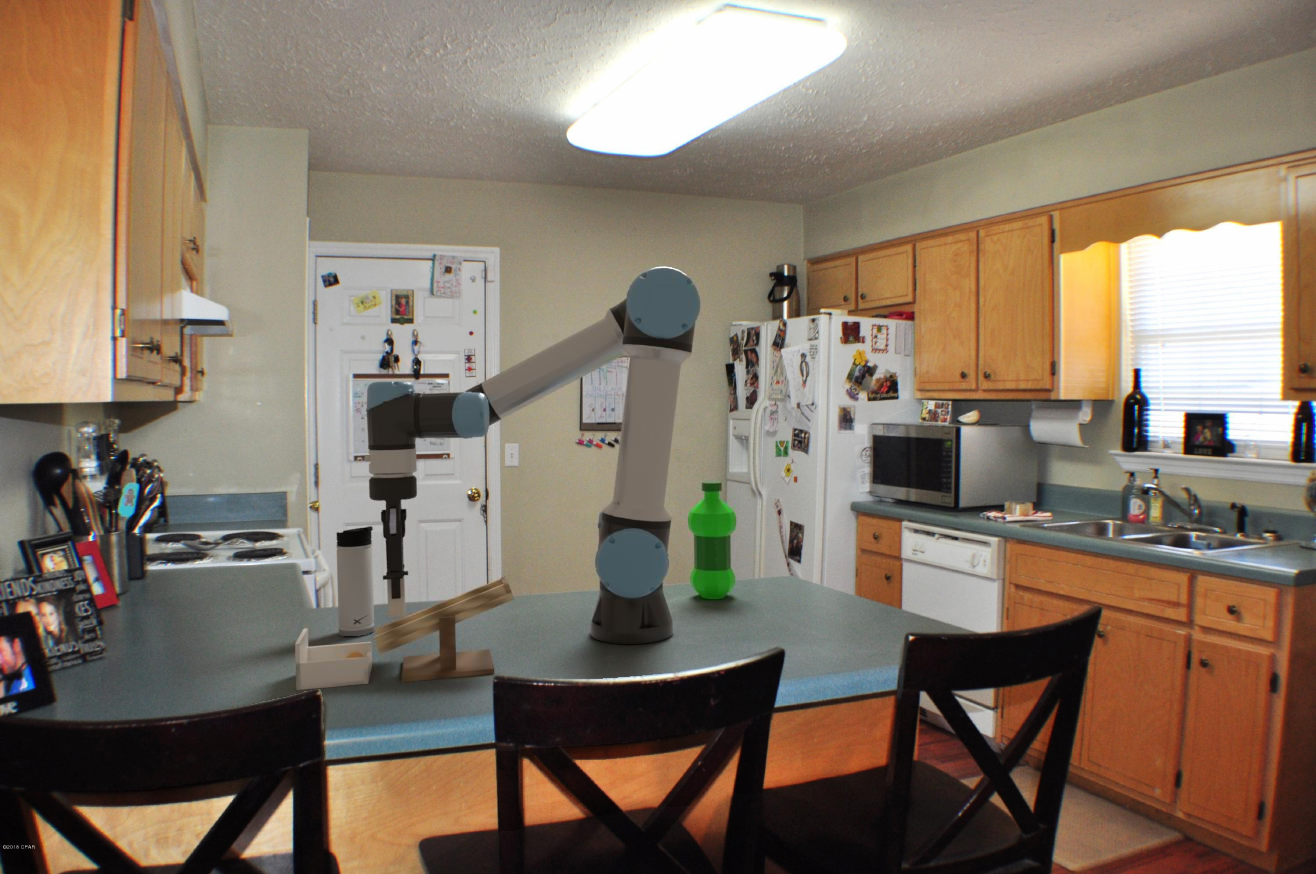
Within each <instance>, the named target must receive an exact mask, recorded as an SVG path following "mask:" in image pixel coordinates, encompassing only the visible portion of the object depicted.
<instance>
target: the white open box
mask: <svg viewBox="0 0 1316 874" xmlns="http://www.w3.org/2000/svg"><path fill="white" fill-rule="evenodd" d="M294 646H295V647H294V648H295V649H294V650H295V651H294V653H295V656H294V657H295V679H296V680H295V681H296V682H295V683H296V684H295V685H296V686H295V687H296V688H295V689H296V691H305V690H313V689H323V688H324V689H325V688H334V687H345V686H355V685H356V686H357V685H366V684H367V685H368V684H369V682H370V681H369V680H370V677H371V672H372V667H373V665H372V664H373V660H372V659H373V657H372V656H373V655H372V654H373V652H372V647H373V646H372V641H364V642H363V641H362V642H353V643H352V642H351V643H349V642H348V643H338V644H326V645H313V646H311V645H310V646H309V628H308V627H307V628H303V630H302V631H301V633H300V635H299V636H298V638H297V639H296V641H295V643H294ZM352 652H359V653H361V654H362V655H363V656H364V657H357V658H346V656H347V655H348V654H350V653H352Z"/></svg>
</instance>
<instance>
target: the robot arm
mask: <svg viewBox="0 0 1316 874" xmlns="http://www.w3.org/2000/svg"><path fill="white" fill-rule="evenodd" d="M700 311H701V298H700V294H699V291H698V288H697V286H696V284H695V283H694V281H693V280H692V279H691V278H690V277H689V276H688V275H687V274H686V273H684V272H683V271H682V270H679V269H676V268H673V267H669V266H657V267H656V266H655V267H653V268H650V269H647V270H645V271H643V272H642V273H641V274H639V275H638V276H637V277H636V278H635V279H634V280H633V281H632V282H631V284H630V286H629V289H628V290H627V293H626V297H625V299H623V300H622V301H621V302H620V303H617V304H616V305H615V306H613V307H611V308H608V309H607V310H606V313H605V316H604V317H603V318H602V319H600V320H598V321H596V322H594V323H592V324H591V325H588V326H586V327H584V328H583V329H581V330H579V331H577V332H576V333H573V334H571V335H570V336H568V337H566V338H563V339H562V340H560V341H558V342H557V343H555V344H552V345H550V346H549V347H547V348H545V349H543V350H541V351H539V352H538V353H536V354H533V355H531V356H530V357H528V358H525V359H524V360H521V361H520V362H518V363H516V364H514V365H512V366H511V367H509V368H507V369H505V370H502V371H501V372H499V373H497V374H495V375H494V376H492V377H489V378H488V379H486V380H484V381H482V382H481V383H478V384H475V386H473V387H470V388H469V389H468V388H467V390H465V391H461V392H459V391H458V392H433V393H432V392H431V393H424V392H421V393H420V392H416V390H415V386H414V385H415V384H414V383H413V382H411V381H404V380H403V381H400V380H399V381H374V382H371V383H370V384H368V386H367V388H366V389H367V391H366V408H365V412H366V425H367V427H366V428H367V443H368V444H367V448H368V455H365V456H364V459H363V460H364V461H365V462H370V463H368V473H369V474H370V475H372V476H371V477H370V478H369V479H368V487H369V488H368V491H369V492H368V494H369V499H370V500H372V501H376V502H379V501H380V502H383V501H384V502H385V509H382V510H381V512H380V520H381V523H382V536H383V539H385V553H386V555H385V556H386V573H385V575H382V580H383V581H385V580H386V583H387V584H386V587H387V588H386V590H387V591H386V592H387V593H386V594H387V618H388V619H396V618H397V619H398V618H400V619H402V618H404V617H407V616H406V587H405V576H409V570H405V567H406V566H405V564H404V537H405V536H406V521H407V508H403V507H402V500H406V501H407V500H411V499H415V498H416V497H417V495H418V487H417V486H418V485H417V479H418V478H417V477H416V475H414V473H416V472H417V469H418V468H417V467H418V466H417V448H416V440H417V439H420V440H421V439H465V440H466V439H473V438H482V437H485V436H486V435H487V434H488V432H489V428H490V426H492V425H494V424H495V423H497V422H499V421H501V420H502V419H505V418H507V417H508V416H510V415H512V414H514V413H516V412H518V411H520V410H522V409H524V408H526V407H528V406H530V405H532V404H533V403H535V402H537V401H539V400H542V399H543V398H544V397H546V396H548V395H550V394H552V393H555V392H556V391H558V390H561V389H562V388H564V387H566V386H567V385H570V384H572V383H574V382H575V381H578V380H580V379H582V378H583V377H585V376H587V375H588V374H590V373H592V372H595V371H597V370H598V369H601V368H602V367H604V366H606V365H608V364H610V363H612V362H614V361H615V360H617V359H619V358H621V357H624V356H626V357H628V358H629V363H628V369H627V371H628V372H627V380H626V385H625V386H626V387H625V396H624V403H623V413H622V421H621V422H622V423H621V429H620V437H619V447H618V453H617V454H618V455H617V461H616V462H617V463H616V471H615V479H614V487H613V497H612V500H611V502H610V503H609V504H607V505H606V506H605V507H603V508H602V511H600V512H599V515H598V522H597V529H598V546H597V551H596V554H595V559H594V565H595V566H594V567H595V569H596V570H595V571H596V574H597V576H598V579H599V593H598V596H597V600H596V603H595V606H594V610H593V614H592V617H591V620H590V636H591V637H592V638H593V639H594V640H597V641H601V642H603V643H610V644H619V645H638V644H642V645H643V644H649V643H655V642H659V641H663V640H666V639H667V638H669V637H671V636H672V635H673V634H674V622H673V618H672V615H671V612H670V608H669V606H668V603H667V600H666V597H665V594H664V584H663V581H664V580H665V578H666V576H667V574H668V570H669V568H670V567H669V566H670V560H669V553H668V551H669V550H668V549H669V543H670V533H671V524H672V516H671V515H670V513H669V512H668V511H667V510H666V507H665V498H666V491H667V484H668V475H669V467H670V466H669V465H670V458H671V452H672V451H671V449H672V442H673V441H672V440H673V435H674V434H673V432H674V426H675V418H676V417H675V416H676V409H677V400H678V393H679V382H680V376H681V367H682V364H683V363H684V362H685V361H687V359H689V358H690V357H691V356H692V353H693V346H694V345H693V343H694V337H695V328H696V321H697V320H698V318H699V315H700Z"/></svg>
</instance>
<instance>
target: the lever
mask: <svg viewBox="0 0 1316 874" xmlns="http://www.w3.org/2000/svg"><path fill="white" fill-rule="evenodd" d="M513 600H515V596H514V595H513V592H512V589H511V587H510V583H509V582H508V580H507V577H506V576H502V577H500V578H498V579H496V580H494V581H491V582H489V583H486V584H483V585H481V586H479V587H476V588H473V589H472V590H468V591H467V592H464V593H462V594H459V595H457V596H456V595H455V596H454V597H452V598H449V599H446V600H443V601H442V602H439V603H437V604H436V603H435V605H432V606H429V607H426V608H424V609H421V610H419V611H417V612H414V613H412V614H409V615H407V616H405V617H401V618H400V619H398V620H395V621H393V622H390V623H387V624H385V625H383V626H380V627H377V628H375V632H376V635H374V636H373V640H374V642H375V645H376V647H377V650H378V653H379V655H383V654H385V653H387V652H390V651H393V650H395V649H397V648H399V647H400V648H401V647H402V646H404V645H407V644H410V643H411V642H415V641H417V640H420V639H421V638H424V637H427V636H429V635H431V634H433V633H437V632H439V630H440V626H439V616H453V615H455V625H456V624H458V623H460V622H462V621H465V620H467V619H470V618H472V617H475V616H478V615H480V614H482V613H485V612H487V611H489V610H493V609H495V608H497V607H499V606H502V605H504V604H506V603H509V602H511V601H513Z"/></svg>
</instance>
